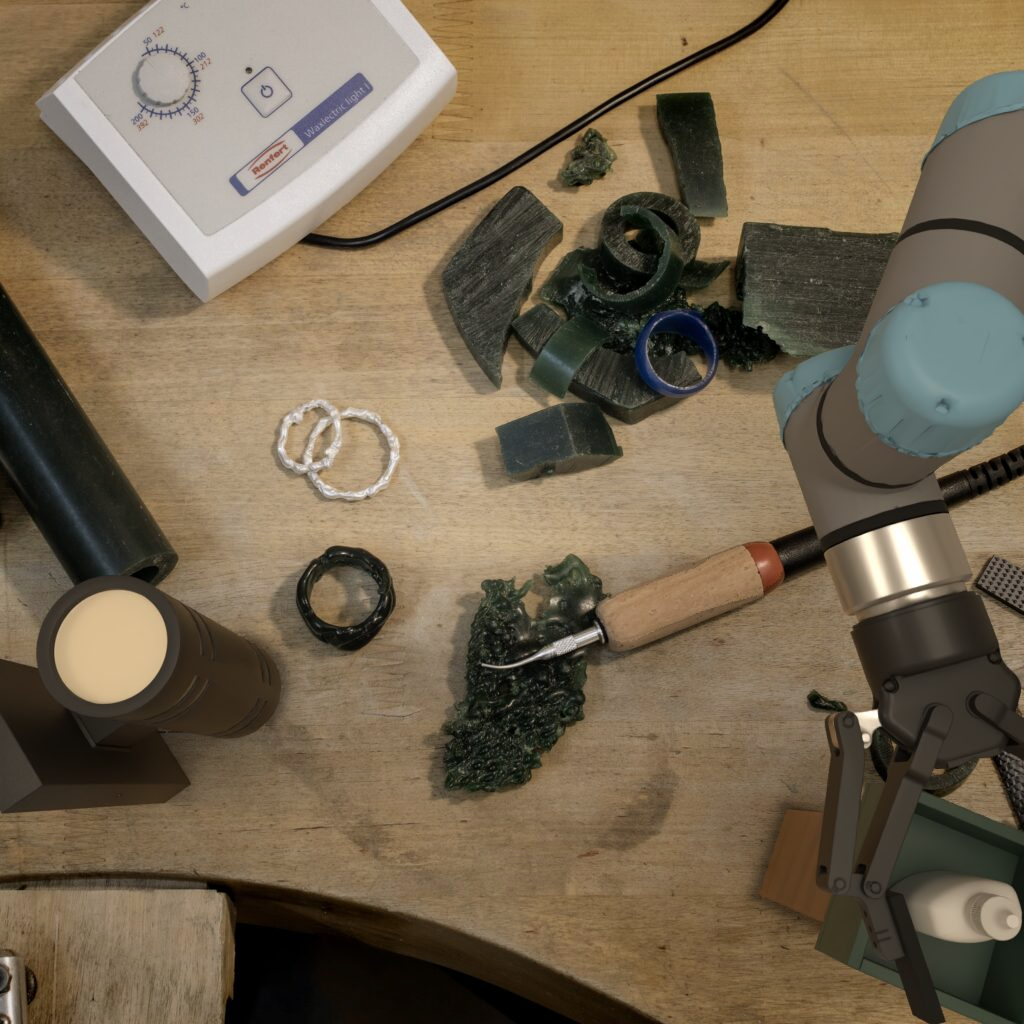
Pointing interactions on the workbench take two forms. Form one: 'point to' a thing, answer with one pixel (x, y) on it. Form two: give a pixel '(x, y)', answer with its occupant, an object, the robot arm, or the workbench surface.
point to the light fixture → (122, 697)
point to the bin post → (797, 865)
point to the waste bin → (952, 965)
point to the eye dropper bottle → (961, 906)
